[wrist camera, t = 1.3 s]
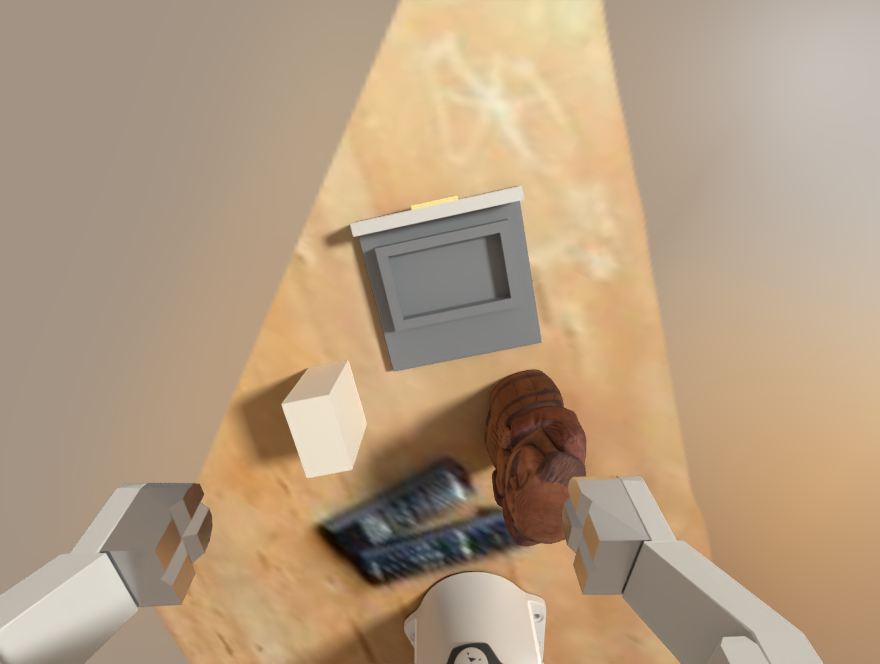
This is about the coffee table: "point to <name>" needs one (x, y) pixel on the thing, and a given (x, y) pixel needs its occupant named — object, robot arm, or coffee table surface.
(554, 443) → the wooden figurine
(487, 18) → the coffee table surface
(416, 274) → the display base
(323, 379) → the product carton
